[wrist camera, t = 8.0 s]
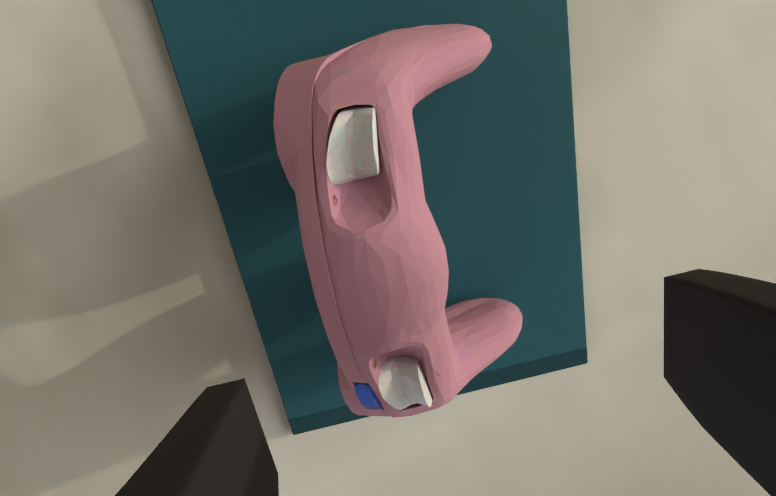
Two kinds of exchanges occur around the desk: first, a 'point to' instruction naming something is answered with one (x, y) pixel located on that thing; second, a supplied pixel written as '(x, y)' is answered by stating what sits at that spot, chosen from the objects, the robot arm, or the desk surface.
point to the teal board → (438, 166)
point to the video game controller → (383, 220)
